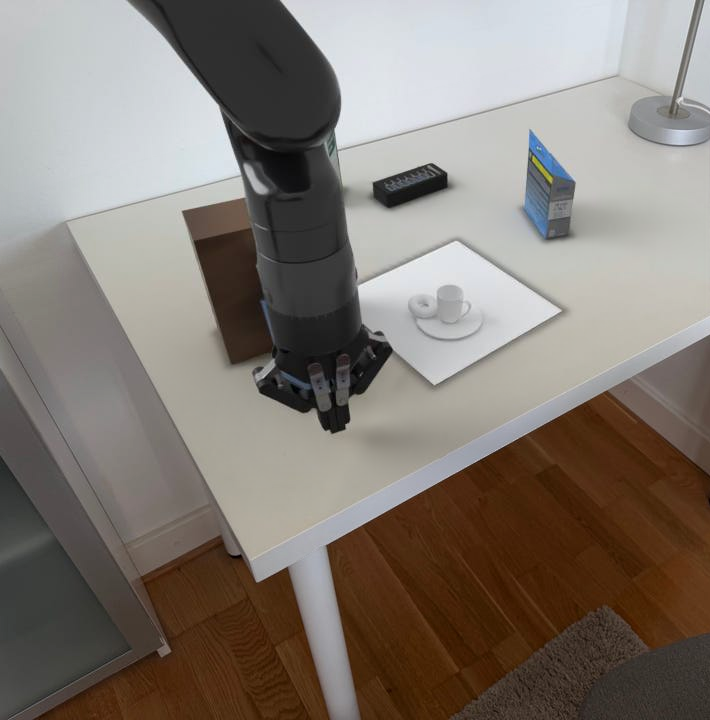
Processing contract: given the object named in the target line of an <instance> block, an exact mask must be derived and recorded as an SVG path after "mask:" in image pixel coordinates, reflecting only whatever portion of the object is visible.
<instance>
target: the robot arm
mask: <svg viewBox="0 0 710 720" xmlns="http://www.w3.org/2000/svg"><path fill="white" fill-rule="evenodd" d="M125 1H126V2H127V3H128V4H129V5H130V6H131V7H132V8H133V9H134V10H136V12H138V14H140V15H141V16H142V17H143V18H144V19H145V20H146V21H147V22H148V23H149V24H150V25H151V26H152V27H153V28H154V29H155V30H156V31H157V32H158V33H159V34H160V35H161V36H162V37H163V38H164V40H165V41H166V42H167V43H168V45H169V46H170V47H171V49H172V50H173V51H174V52H175V54H176V55H177V56H178V58H179V59H180V60H181V61H182V62H183V64H184V65H185V66H186V68H187V69H188V70H189V71H190V72H191V74H192V76H194V78H195V79H196V80H197V81H198V83H199V84H200V85H201V86H202V87H203V89H204V90H205V91H206V92H207V94H208V95H209V96H210V98H212V100H213V101H214V102H215V104H217V106H218V108H219V112H220V115H221V119H222V121H223V125H224V127H225V131H226V133H227V137H228V139H229V143H230V146H231V149H232V151H233V155H234V158H235V160H236V162H237V166H238V170H239V172H240V177H241V180H242V186H243V190H244V197H245V198H246V205H247V211H248V215H249V219H250V223H251V228H252V232H253V236H254V240H255V245H256V253H257V267H258V273H259V278H260V282H261V286H262V290H263V295H264V299H265V303H266V307H267V311H268V315H269V320H270V324H271V328H272V332H273V336H274V346H273V348H272V351H271V352H270V354H271V355H270V356H271V358H272V359H271V360H270V361H269V362H268V363H267V364H266V365H265V366H256V367H254V368H253V369H252V371H251V375H252V377H253V380H254V384H255V386H256V388H257V390H258V393H259V394H260V395H262V396H264V397H267V398H269V399H271V400H273V401H275V402H277V403H279V404H282V405H284V406H286V407H288V408H290V409H292V410H295V411H296V412H299V413H301V414H307V413H309V412H311V411H312V409H315V410H316V414H317V419H318V422H319V424H320V426H321V429H322V430H323V431H324V432H327V431H329V433H330V434H331V435H335V434H337V433H340V432H343V431H346V430H347V428H346V425H348V424H350V422H351V412H350V405H349V401H350V398H352V397H353V396H354V395H356V396H362V395H363V394H364V393H365V392H367V390H368V388H369V387H370V385H372V383H373V382H374V380H375V378H376V377H377V375H378V374H379V373H380V371H381V370H382V368H383V367H384V366H385V364H386V362H387V361H388V360H389V358H390V357H391V355H392V354H393V352H394V350H393V348H392V347H391V345H390V343H389V342H388V340H387V339H386V337H385V335H384V334H383V332H381V331H376V332H374V333H373V332H372V333H371V332H368V330H367V329H366V326H365V325H364V324H363V323H362V319H361V311H360V302H359V294H358V286H359V284H358V278H359V274H358V268H357V266H356V263H355V261H356V260H355V255H354V251H353V248H352V245H351V241H350V238H349V230H348V221H347V215H346V206H345V198H344V193H343V189H342V187H341V183H340V180H339V177H338V174H337V172H336V170H335V168H334V166H333V164H332V162H331V160H330V158H329V156H328V154H327V151H326V148H325V144H324V142H325V141H326V140H327V139H328V138H329V137H330V136H331V134H332V133H333V131H334V130H336V128H337V125H338V123H339V121H340V117H341V111H342V92H341V91H342V90H341V86H340V82H339V79H338V75H337V73H336V71H335V69H334V68H333V65H332V64H331V62H330V61H329V59H328V58H327V56H326V55H325V54H324V52H323V51H322V50H321V49H320V47H319V46H318V45H317V44H316V42H315V41H314V39H312V37H311V36H310V35H309V33H308V32H307V31H306V30H305V28H304V27H303V26H302V25H301V24H300V22H299V20H297V19H296V17H295V16H294V15H293V13H291V11H290V10H289V9H288V7H287V6H286V5H285V4H284V3H283V1H282V0H125ZM282 371H283V372H285V373H287V374H289V375H290V376H292V377H294V378H296V379H297V380H299V381H301V382H303V383H306V384H309V386H310V389H304V388H303V387H302V386H300V385H298V384H296V383H294V382H292V381H290V380H288V379H286V378H284V376H283V373H282ZM327 380H328V386H329V388H327V385H326V381H327Z"/></svg>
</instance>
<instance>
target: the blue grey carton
mask: <svg viewBox="0 0 710 720" xmlns="http://www.w3.org/2000/svg"><path fill="white" fill-rule="evenodd" d="M528 131H529V132H528V153H527V166H526V167H527V168H526V181H525V193H524V205H523V210H525V212H526V213H527V215H528V217H529V218H530V219H531V221H532V223H533V224H534V225H535V227H536V228H537V229H538V231H539V232H540V233H541V235H542V237H543V239H545V240H548V239H555V238H561V237H567V236H569V235H570V228H571V227H570V226H571V220H572V212H573V205H574V200H575V199H574V198H575V191H576V184H577V183H576V181H575V180H574V178H572V176H571V175H570V174H569V173H568V172H567V171H566V169H565V168H564V167H563V166H562V165H561V163H560V162H559V161H558V160H557V158H556V157H554V155H553V154H552V153H551V152H549V150H548V149H547V148H546V147H545V145H544V144H543V142H542V141H541V140H540V139H539V138H538V136H537V135H536V134H535V133H534V132H533V130H532V129H530V128H529V129H528Z"/></svg>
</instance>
